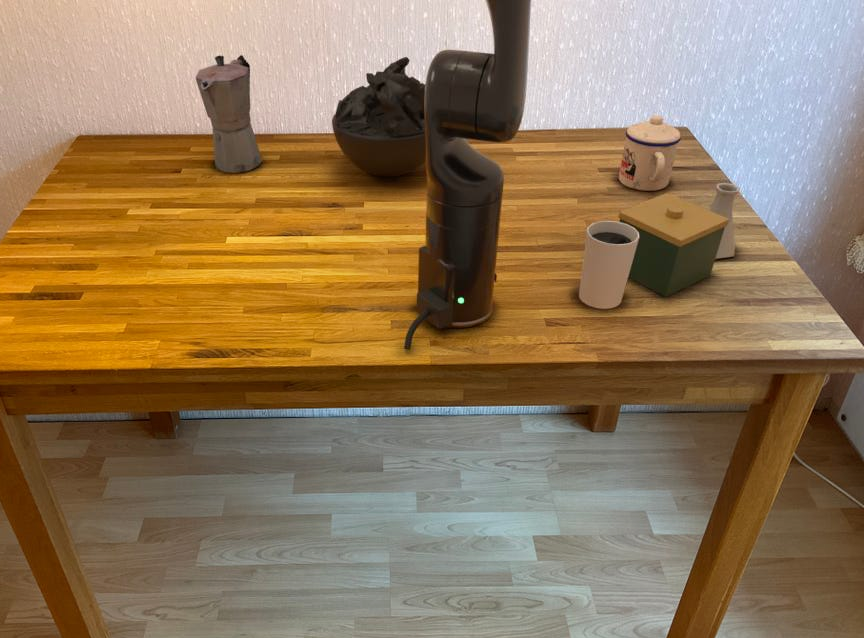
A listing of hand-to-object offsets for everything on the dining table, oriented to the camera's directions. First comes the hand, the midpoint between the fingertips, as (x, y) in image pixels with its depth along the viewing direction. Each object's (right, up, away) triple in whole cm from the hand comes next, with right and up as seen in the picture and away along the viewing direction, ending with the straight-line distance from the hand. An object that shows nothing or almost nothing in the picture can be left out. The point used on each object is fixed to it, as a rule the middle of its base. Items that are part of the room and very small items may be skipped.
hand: (511, 24), depth 106 cm
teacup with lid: (+28, -17, +25) cm, 41 cm away
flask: (+31, -31, +7) cm, 45 cm away
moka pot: (-46, -11, +34) cm, 59 cm away
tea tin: (+22, -35, +1) cm, 42 cm away
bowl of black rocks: (-18, -14, +30) cm, 38 cm away
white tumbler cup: (+12, -40, -4) cm, 42 cm away
